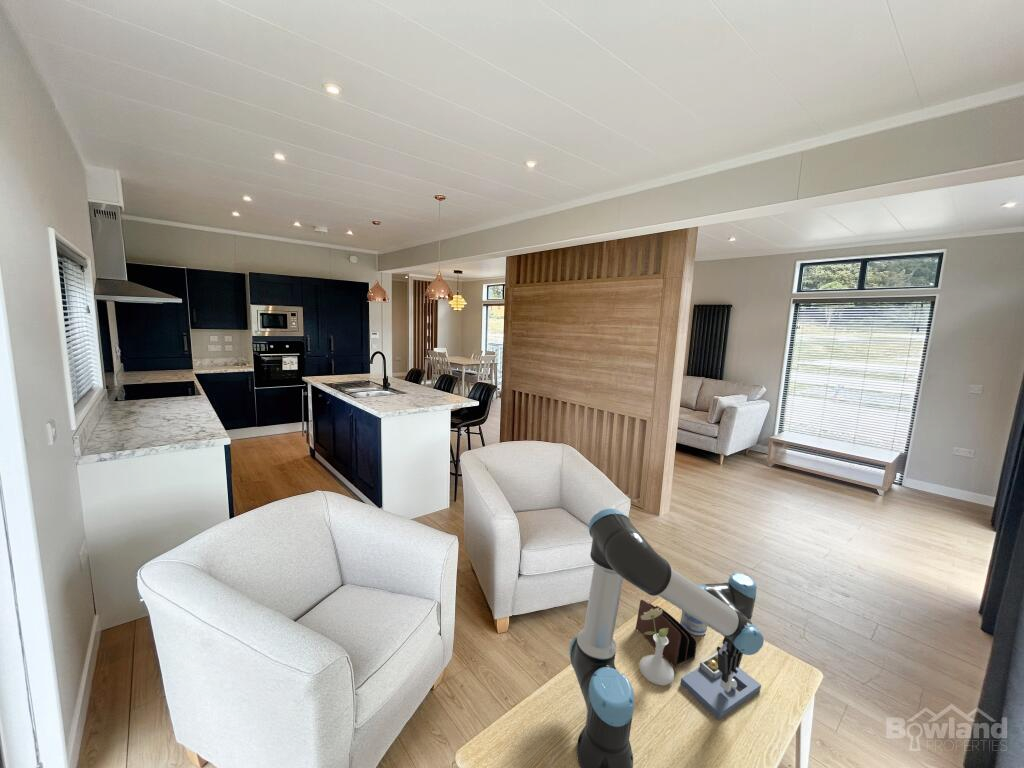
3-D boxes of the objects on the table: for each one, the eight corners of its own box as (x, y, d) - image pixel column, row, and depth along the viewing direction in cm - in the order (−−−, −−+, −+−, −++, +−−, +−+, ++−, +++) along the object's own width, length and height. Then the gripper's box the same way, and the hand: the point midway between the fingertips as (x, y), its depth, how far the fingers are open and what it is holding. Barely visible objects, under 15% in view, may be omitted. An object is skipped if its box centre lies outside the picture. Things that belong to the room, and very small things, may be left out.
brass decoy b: (721, 670, 143) (723, 661, 142) (712, 662, 146) (713, 654, 146) (728, 666, 145) (729, 657, 144) (718, 659, 148) (720, 650, 147)
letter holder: (674, 668, 146) (680, 633, 144) (635, 628, 164) (639, 596, 161) (695, 659, 151) (700, 625, 148) (654, 621, 168) (658, 590, 165)
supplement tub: (680, 632, 163) (685, 598, 160) (679, 615, 172) (684, 583, 169) (707, 640, 160) (713, 605, 157) (705, 623, 169) (710, 590, 166)
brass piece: (713, 676, 141) (714, 666, 140) (703, 668, 144) (705, 658, 143) (719, 672, 143) (721, 662, 142) (710, 664, 146) (711, 655, 145)
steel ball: (740, 686, 136) (734, 694, 135) (731, 678, 139) (725, 686, 138) (738, 681, 135) (732, 689, 134) (728, 673, 138) (723, 681, 137)
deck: (718, 720, 128) (720, 708, 127) (680, 684, 140) (682, 672, 139) (759, 691, 139) (762, 679, 138) (721, 659, 151) (723, 649, 150)
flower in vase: (668, 662, 148) (677, 599, 144) (677, 691, 137) (688, 624, 133) (631, 657, 150) (638, 595, 145) (637, 685, 138) (645, 619, 134)
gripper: (734, 639, 124) (723, 706, 128) (760, 624, 130) (748, 689, 135) (712, 622, 130) (701, 686, 135) (737, 609, 137) (726, 671, 141)
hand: (725, 688), depth 135 cm, fingers closed
